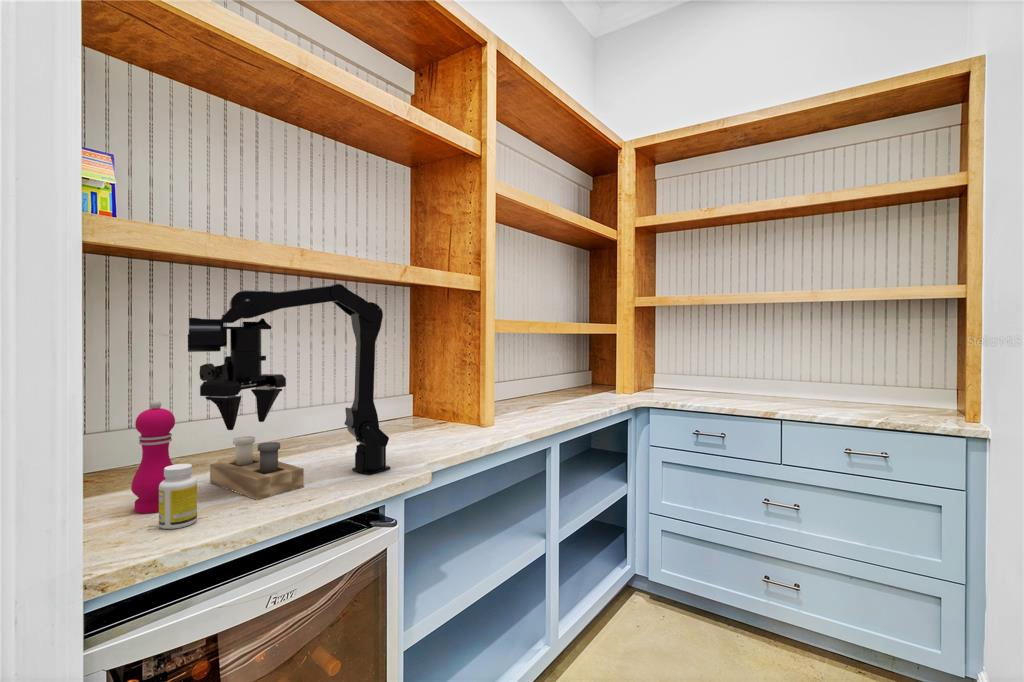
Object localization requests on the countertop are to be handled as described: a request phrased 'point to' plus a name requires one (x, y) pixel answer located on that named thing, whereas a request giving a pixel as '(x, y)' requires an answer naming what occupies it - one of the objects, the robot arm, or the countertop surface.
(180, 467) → the supplement bottle
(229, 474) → the oak socket block
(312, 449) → the countertop surface
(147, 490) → the pepper mill
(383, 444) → the robot arm
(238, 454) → the white plug
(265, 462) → the charcoal plug
